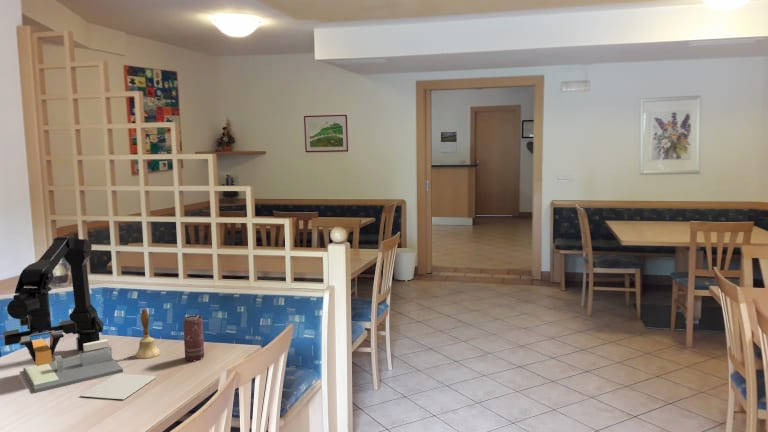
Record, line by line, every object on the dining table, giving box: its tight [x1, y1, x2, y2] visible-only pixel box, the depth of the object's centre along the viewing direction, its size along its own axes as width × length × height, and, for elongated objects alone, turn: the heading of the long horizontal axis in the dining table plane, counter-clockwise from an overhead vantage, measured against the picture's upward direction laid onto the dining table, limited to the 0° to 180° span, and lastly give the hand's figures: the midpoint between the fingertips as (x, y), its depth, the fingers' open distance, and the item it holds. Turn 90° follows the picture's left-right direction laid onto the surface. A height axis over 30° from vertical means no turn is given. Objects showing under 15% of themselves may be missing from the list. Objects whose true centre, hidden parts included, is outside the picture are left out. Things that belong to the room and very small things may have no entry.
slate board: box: [22, 355, 124, 393], centre depth 183 cm, size 24×22×1 cm
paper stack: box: [79, 373, 158, 400], centre depth 165 cm, size 23×25×1 cm
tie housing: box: [54, 344, 113, 372], centre depth 185 cm, size 16×3×4 cm, turn 129°
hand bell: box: [134, 308, 162, 360], centre depth 196 cm, size 8×8×16 cm
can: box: [182, 315, 205, 361], centre depth 193 cm, size 6×6×14 cm
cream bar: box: [83, 338, 109, 351], centre depth 187 cm, size 7×2×2 cm, turn 129°
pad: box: [25, 364, 59, 386], centre depth 178 cm, size 6×18×1 cm, turn 40°
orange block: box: [28, 338, 53, 366], centre depth 177 cm, size 4×14×4 cm, turn 39°
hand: (42, 359), depth 174 cm, fingers closed on orange block, 4 cm apart
